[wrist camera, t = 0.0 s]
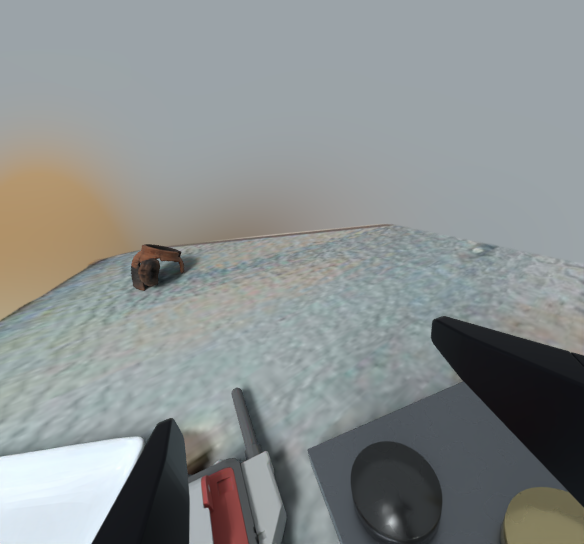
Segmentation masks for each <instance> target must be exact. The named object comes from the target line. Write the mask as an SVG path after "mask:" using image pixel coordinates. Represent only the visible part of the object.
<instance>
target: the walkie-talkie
mask: <svg viewBox="0 0 584 544" xmlns="http://www.w3.org/2000/svg"><path fill="white" fill-rule="evenodd" d="M232 398H233V402H234V405H235V409H236V413H237V416H238V420H239V424H240V428H241V431H242V435H243V439H244V443H245V446H246V450H245V455H246V459H247V461H245V462H243V463H241V464H240V462H239V461H238V460H236V459H235V458H232V459H227V460H218V461H216V462H215V463H214V465H213V466H211V467H209V468H207V469H205V470H203V471H201V472H199V473H197V474H194V475H189V474H188V484H189V495H190V532H189V544H281V543H282V538H283V534H284V529H285V525H286V520H287V515H286V511H285V508H284V505H283V502H282V499H281V496H280V492H279V489H278V486H277V483H276V480H275V477H274V472H275V470H274V467H273V465H272V462H271V459H270V456H269V453H268V451H265V452H262V449H261V446H260V445H259V444H258V442H257V439H256V436H255V433H254V429H253V426H252V423H251V420H250V416H249V413H248V410H247V406H246V403H245V400H244V397H243V393H242V390H241V389H240V388H235V389H233V391H232Z"/></svg>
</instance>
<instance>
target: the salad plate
mask: <svg viewBox="0 0 584 544" xmlns="http://www.w3.org/2000/svg"><path fill="white" fill-rule="evenodd" d="M143 449H144V439H143V438H142V437H124V438H115V439H108V440H101V441H95V442H89V443H82V444H76V445H70V446H64V447H58V448H51V449H45V450H39V451H33V452H27V453H21V454H14V455H7V456H1V457H0V544H91V543H92V542H93V540H94V538H95V536H96V534H97V532H98V531H99V529H100V527H101V525H102V523H103V522H104V520H105V518H106V516H107V514H108V513H109V511H110V509H111V507H112V505H113V503H114V502H115V500H116V498H117V496H118V494H119V493H120V491H121V489H122V487H123V485H124V483H125V482H126V480H127V478H128V476H129V474H130V473H131V471H132V469H133V467H134V465H135V464H136V462H137V460H138V458H139V456H140V454H141V453H142V451H143Z"/></svg>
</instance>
